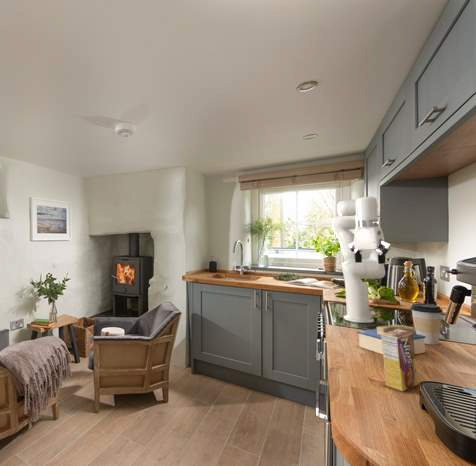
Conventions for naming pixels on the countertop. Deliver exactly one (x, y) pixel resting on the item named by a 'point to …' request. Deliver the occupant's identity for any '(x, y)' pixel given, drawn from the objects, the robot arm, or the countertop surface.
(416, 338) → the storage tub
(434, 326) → the coffee cup
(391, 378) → the candy box
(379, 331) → the wooden block
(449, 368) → the countertop surface
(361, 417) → the countertop surface
